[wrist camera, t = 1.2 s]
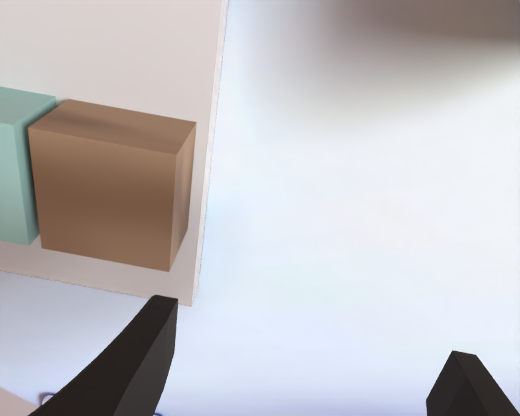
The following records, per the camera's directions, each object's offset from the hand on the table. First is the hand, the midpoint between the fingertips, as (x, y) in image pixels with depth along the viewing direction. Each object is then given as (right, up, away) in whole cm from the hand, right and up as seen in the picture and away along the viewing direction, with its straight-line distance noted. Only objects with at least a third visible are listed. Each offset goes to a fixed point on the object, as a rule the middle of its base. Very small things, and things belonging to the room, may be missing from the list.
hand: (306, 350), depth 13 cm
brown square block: (-6, +5, +7) cm, 11 cm away
